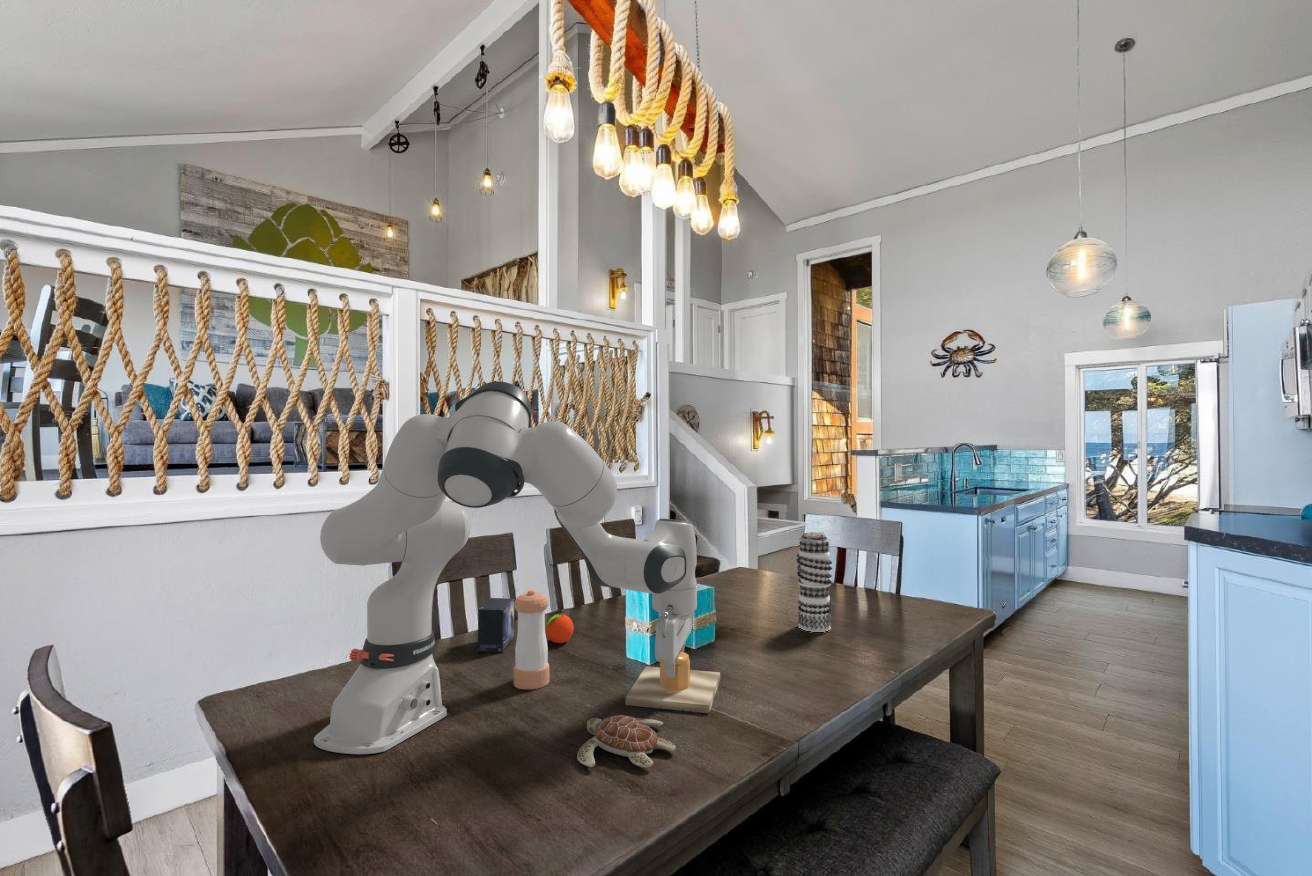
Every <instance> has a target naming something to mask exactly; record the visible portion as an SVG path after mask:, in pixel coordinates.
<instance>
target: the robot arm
mask: <svg viewBox="0 0 1312 876" xmlns="http://www.w3.org/2000/svg"><path fill="white" fill-rule="evenodd" d="M532 410H533V409H532V404H531V401H530V398H529V397H528V395H527V394H526V392H525V391H523V390H522V389H521V388H520V387H518V386H517V385H515V384H513V383H511V382H506V381H498V380H497V381H496V380H495V381H490V382H486V383H484V384H483V385H481V386H479V387H478V388H476V389H474V391H472V392H471V393H469V395H467V396H466V397H464V398H461V399H460V400H459V401H457V402H455V405H454V411H455V412H454V413H453V414H452V415H451V416H447V417H444V416H439V415H436V414H430V413H429V414H428V413H426V414H423V413H422V414H418V415H415V416H412V417H410V418H408V420H406V421H405V422H404V423H403V424H402V425H401V427H400V428H399V430H398V432H396V434H395V436H394V437H393V439H392V441H391V444H390V445H389V448H388V450H387V453H386V456H385V460H384V463H383V467H382V471H381V472H380V476H379V479H378V481H377V484H376V485H375V486H374V488H372V489H371V490H369V492H368V493H366V494H365V495H363V496H362V497H360V498H359V499H357V500H356V501H354V502H352V503H350V504H348V505H345V506H343V507H339V508H337V509H334V510H332V511H331V512H330V514H329V515H328V516H327V517H326V519H325V520H324V521H323V523H322V527H321V529H320V535H319V540H320V546H321V549H322V551H323V554H325V556H326V557H327V559H328V560H330V562H332V563H334V564H335V565H344V566H345V565H347V566H362V567H363V566H372V565H373V566H374V565H381V564H389V563H391V564H392V563H398V562H401V565H400V567H399V570H398V571H397V573H396V574H395V575H394V576H392V577H390V578H389V579H388V580H386V581H384V582H382V583H381V584H380V585H378V586H377V587H376V588H374V590H373V591H372V592H371V593H370V594H369V597H368V599H367V601H366V630H367V632H366V635H367V636H366V638H365V640H364V642H363V643H364V644H363V646H362V649H358V648H353V649H351V651H350V653H349V656H348V657H349V660H350V661H351V662H355V661H356V662H357V661H358V662H359V663H360V664H359V666H358V668H356V670H355V671H354V672H353V674H352V676H351V677H350V678H349V680H348V682H347V683H346V684H345V686H344V687H343V688H342V689H341V691H340V692H339V694H338V696H336V698H335V699H334V701H333V702H332V706H331V711H330V722H329V724H328V725H327V726H325V727H324V728H323V729H322V730H321V731H319V732H318V733H317V734H316V735H315V736H314V738H313V744H314V745H315V746H316V748H319V749H321V750H324V751H327V752H333V753H339V754H348V755H349V754H350V755H369V754H370V755H371V754H377V753H382V752H386V751H388V750H390V749H392V748H394V747H395V746H397V745H399V744H401V743H402V742H403V741H405V740H407V739H409V738H410V737H412V736H414V735H416V734H417V733H419V732H421V731H422V730H424V729H426V728H428V727H430V726H432V725H433V724H434V723H437V722H438V721H441V720H442V719H444V718H445V717H447V715H448V711H447V708H446V706H445V705H443V702H442V701H443V700H442V691H441V679H440V673H439V668H438V666H437V664H436V662H435V660H434V656H433V653H434V652H435V643H436V641H435V639H436V638H435V632H434V631H433V629H432V628H433V627H432V625H433V624H432V622H433V620H432V617H433V614H432V613H433V603H434V602H433V601H434V592H435V588H436V585H437V582H438V579H439V577H440V575H441V573H442V571H443V570H444V568H445V567H446V565H447V564H448V562H449V561H450V560H451V559H452V558H453V557H455V555H456V554H457V553H458V552H460V551H462V549H463V548H464V547H465V545H466V544H467V542H468V539H469V538H470V533H471V521H470V516H469V514H468V513H467V511H466V509H465V508H464V507H466V508H471V509H472V508H473V509H481V508H484V507H488V506H492V505H496V504H499V503H501V502H502V501H504V500H506V498H514V497H516V496H518V495H519V494H520V492H522V490H523V488H524V485H525V483H526V484H529V485H531V486H533V487H534V488H535V489H537V490H538V492H539V493H540V494H541V495H542V496H543V498H545V500H546V501H547V502H548V504H550V506H551V507H552V508H553V511H554V515H555V518H556V520H557V521H558V524H559V525H560V527H561V528H562V530H563V531H564V533H565V534H566V535H567V536H568V538H569V540H570V541H571V542H572V544H573V545H574V546H575V547H576V549H577V550H578V552H579V554H580V555H581V556H582V558H583V559H584V563H585V565H586V568H587V571H588V573H589V575H590V578H591V579H592V580H593V582H594V583H595V584H597V585H598V586H600V587H604V588H605V587H606V588H618V589H622V590H627V591H628V590H629V591H634V592H640V593H645V594H652V609H653V610H654V611H655V612H658V617H659V618H658V619H657V621H656V626H655V639H654V640H655V641H654V657H655V660H656V661H657V662H659V663H660V662H664V665H665V675H666V677H667V678H674V677H675V674H676V666H675V659H676V657H677V655H678V653H679V652H684V653H685V646H686V641H687V639H688V637H689V635H690V633H691V632H692V629H693V623H694V615H695V614H694V612H695V611H696V610H697V609H698V608H697V607H698V599H697V598H698V587H697V585H698V582H697V579H696V567H697V564H698V563H697V561H698V559H697V555H698V554H697V540H696V532H695V529H694V525H693V524H692V523H690V522H689V521H687V520H680V519H672V518H659V519H657V520H656V521H655V525H654V530H653V531H652V532H651V533H650V535H648V536H647V537H645V538H644V539H639V538H638V539H636V538H629V537H622V536H618V535H613V534H611V533H608V532H607V531H606V530H605V529H604V527H603V525H602V524H601V523H600V521H602V520H603V519H605V517H607V515H608V514H609V513H610V511H611V510H612V509H613V507H614V504H615V502H616V499H617V493H618V486H617V485H618V484H617V482H616V479H615V476H614V475H613V473H612V471H611V470H610V468H609V467H608V466H607V464H606V463H605V461H604V460H603V459H602V457H600V455H599V454H598V452H596V450H595V449H594V448H593V447H592V446H591V445H590V444H589V443H588V442H587V441H586V440H585V439H584V438H583V437H582V436H581V435H580V434H578V433H577V432H576V431H575V430H574V429H573V428H572V427H570V426H569V425H567V424H566V423H564V422H561V421H556V420H553V421H552V420H551V421H546V422H543V423H540V424H538V425H536V426H535V427H531V424H532V418H533V417H532V412H533V411H532ZM446 498H448V499H450V501H449V500H447V499H446Z"/></svg>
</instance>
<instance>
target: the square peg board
mask: <svg viewBox="0 0 1312 876" xmlns="http://www.w3.org/2000/svg"><path fill="white" fill-rule="evenodd" d="M720 682H721V672H720V671H719V672H717V671H706V670H697V669H695V670H694V669H690V684H689V686H688V688H685V689H682V690H667V689H665V688H663V687H662V686H660V666H659V667H658V666H646V665H645V667H644V668H643V670H642V671H641V673H640V675H639V676H638V678H637V679H636V681H635V682H634V683H633V685H632V686H631V689H630V690H629V691H628V693H627V694H626V695H625V701H624V702H625V706H631V707H643V708H652V709H660V708H661V709H663V710H670V709H671V711H682V710H683V712H690V711H691V713H703V714H710V713H709V712H711V709H712V706H713V703H714V699H715V697H716V693H717V691H718V688H719V685H720Z"/></svg>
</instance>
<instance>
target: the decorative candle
mask: <svg viewBox="0 0 1312 876" xmlns="http://www.w3.org/2000/svg"><path fill="white" fill-rule="evenodd" d="M798 541H799V549H798V553H797V554H796V557H797V558H796V563H797V564H798V565H797V566H796V568H797V572H796V574H797V576H798V579H797V583H798V585H799V593H798V594H799V595H798V596H799V598H798V600H797V604H798V605H799V606H797V608H798V609H797V610H798V611H799V612H798V613H797V616H798V619H797V621H798V624H797V625H798V626H799V627H798V629H799V628H801V629H803V630H806V631H811V632H810V633H812V632H824V633H826V632H825V631H828V630H830V629H831V630H832V628H831V625H832V622H831V619H832V615H831V613H830V612H832V608H831V606H832V603H831V602H830V601H831V596H830V586H831V585H832V580H830V579H831V578H832V574H830V572H829V571H832V570H833V567H832V566H831V565H832V564H833V561H832V560H831V559H829V558H830V556H831V553H830V541H831V540H830V538H828V537H827V535H826V534H825V533H823V532H812V531H811V532H804V533H803V534H802V535H801V537H800V538H798ZM801 629H800V630H801ZM803 630H802V631H803ZM831 630H830V631H831ZM806 631H805V632H806ZM828 632H829V631H828Z"/></svg>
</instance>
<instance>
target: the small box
mask: <svg viewBox="0 0 1312 876" xmlns="http://www.w3.org/2000/svg"><path fill="white" fill-rule="evenodd" d="M514 602H515V598H505V597H502V598H501V597H490V598H489V599H488V600H487V601H486V602H484V604H482V605H481V606H480V607H479V608H478V610H477V612H478V613H477V653H491V654H492V653H494V654H495V653H500V654H501V653H503V652H504V651H505V650H506V649H507V648H508V647H509V645H510V644H511V643H512V641H513V640H514V636H515V632H514V631H515V629H514V628H515V607H514Z"/></svg>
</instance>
